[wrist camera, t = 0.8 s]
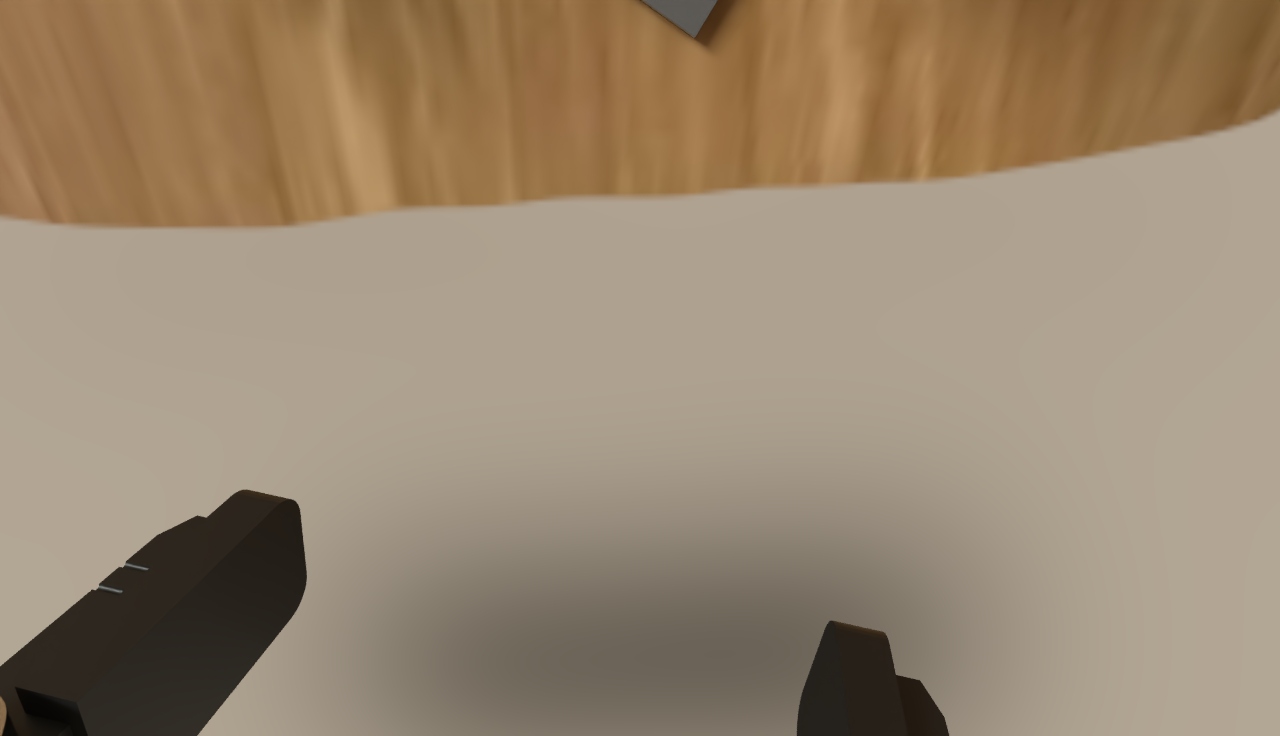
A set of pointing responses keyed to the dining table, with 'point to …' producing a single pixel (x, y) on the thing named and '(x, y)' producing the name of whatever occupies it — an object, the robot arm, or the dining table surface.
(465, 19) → the dining table surface
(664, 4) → the grey tray with jar
